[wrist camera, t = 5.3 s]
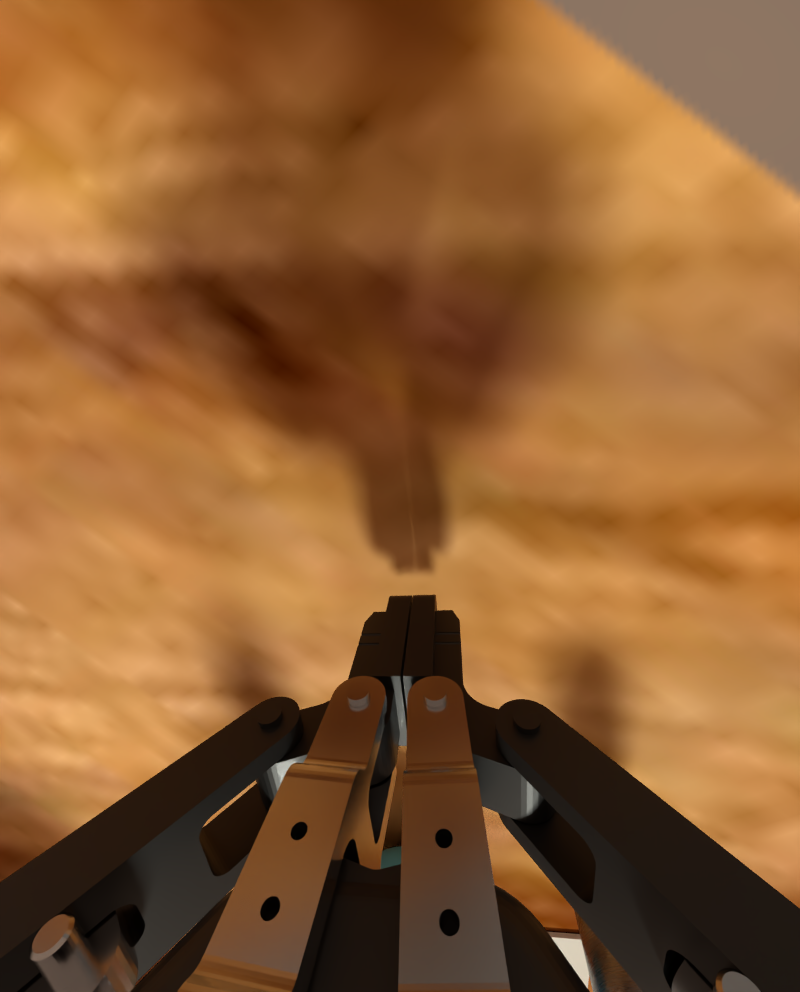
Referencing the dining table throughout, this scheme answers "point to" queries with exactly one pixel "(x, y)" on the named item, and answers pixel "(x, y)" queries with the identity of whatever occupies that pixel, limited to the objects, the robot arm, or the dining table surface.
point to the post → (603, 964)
